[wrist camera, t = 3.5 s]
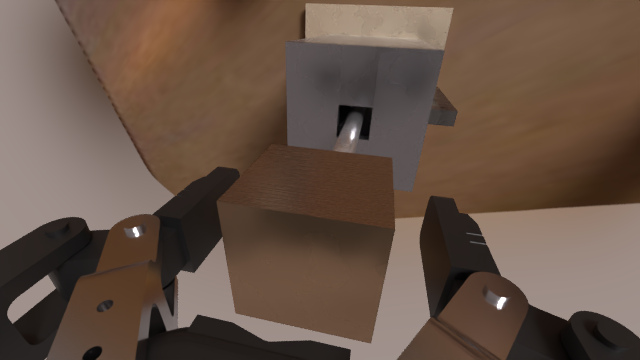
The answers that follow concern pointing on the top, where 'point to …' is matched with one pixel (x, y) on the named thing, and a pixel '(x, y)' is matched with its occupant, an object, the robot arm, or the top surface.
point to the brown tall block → (312, 233)
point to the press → (369, 79)
